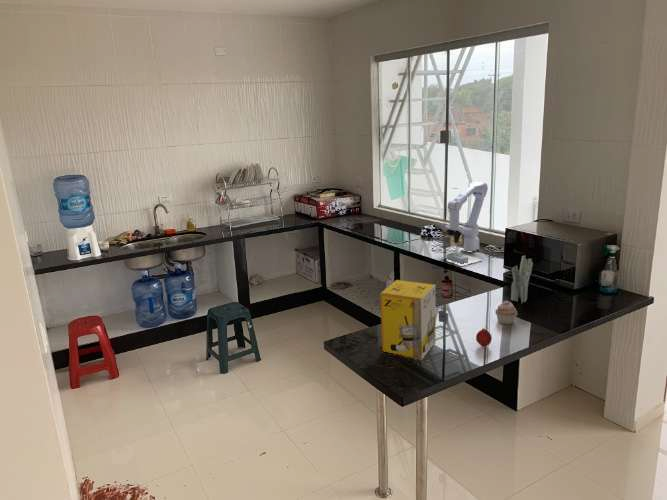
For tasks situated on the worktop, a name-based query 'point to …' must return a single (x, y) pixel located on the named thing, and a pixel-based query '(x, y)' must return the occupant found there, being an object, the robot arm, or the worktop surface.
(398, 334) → the packaging box
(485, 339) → the onion
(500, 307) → the cupcake
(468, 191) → the robot arm
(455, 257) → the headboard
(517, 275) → the pale green stalk cluster
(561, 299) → the worktop surface
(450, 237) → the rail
